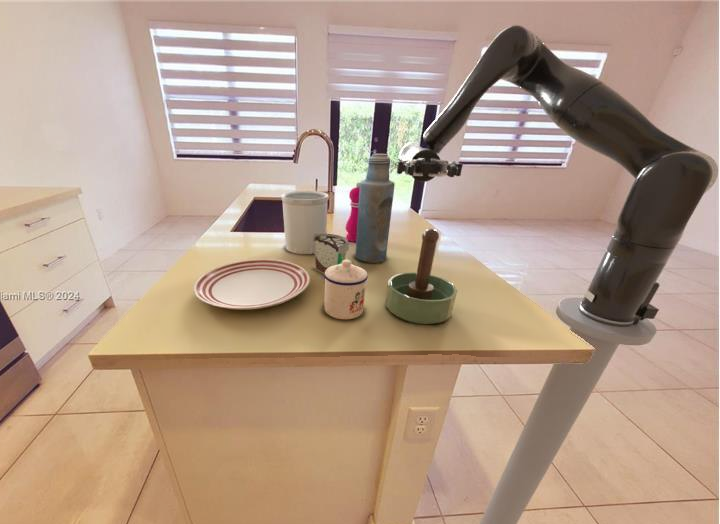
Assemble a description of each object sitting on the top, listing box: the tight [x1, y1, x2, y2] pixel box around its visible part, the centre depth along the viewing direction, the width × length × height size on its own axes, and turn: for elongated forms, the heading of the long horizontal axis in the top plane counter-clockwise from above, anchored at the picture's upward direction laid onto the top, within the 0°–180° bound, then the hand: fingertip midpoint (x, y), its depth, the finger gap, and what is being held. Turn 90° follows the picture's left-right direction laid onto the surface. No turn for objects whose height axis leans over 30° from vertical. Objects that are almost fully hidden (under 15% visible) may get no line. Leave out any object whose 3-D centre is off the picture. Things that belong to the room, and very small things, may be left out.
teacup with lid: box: [323, 259, 368, 320], centre depth 68 cm, size 12×9×12 cm
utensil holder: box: [281, 190, 330, 255], centre depth 102 cm, size 15×15×18 cm
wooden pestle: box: [407, 228, 440, 300], centre depth 66 cm, size 5×5×18 cm
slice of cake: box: [313, 233, 350, 275], centre depth 86 cm, size 12×6×10 cm, turn 35°
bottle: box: [355, 153, 396, 264], centre depth 92 cm, size 10×10×30 cm
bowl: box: [385, 272, 458, 325], centre depth 69 cm, size 14×14×6 cm
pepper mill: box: [345, 182, 360, 243], centre depth 111 cm, size 7×7×20 cm
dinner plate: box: [193, 258, 311, 310], centre depth 77 cm, size 28×27×3 cm
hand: (432, 171), depth 67 cm, fingers open, 8 cm apart
